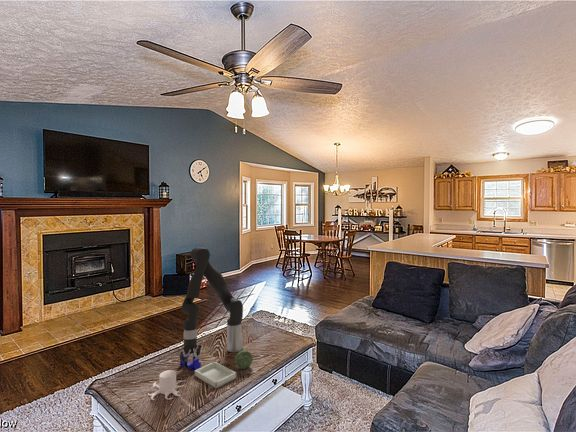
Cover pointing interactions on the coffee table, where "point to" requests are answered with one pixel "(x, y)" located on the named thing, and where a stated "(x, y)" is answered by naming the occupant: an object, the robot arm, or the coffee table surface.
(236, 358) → the decorative artifact
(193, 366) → the blue curved bracket
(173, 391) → the tree stump
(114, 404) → the coffee table surface
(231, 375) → the parts tray
